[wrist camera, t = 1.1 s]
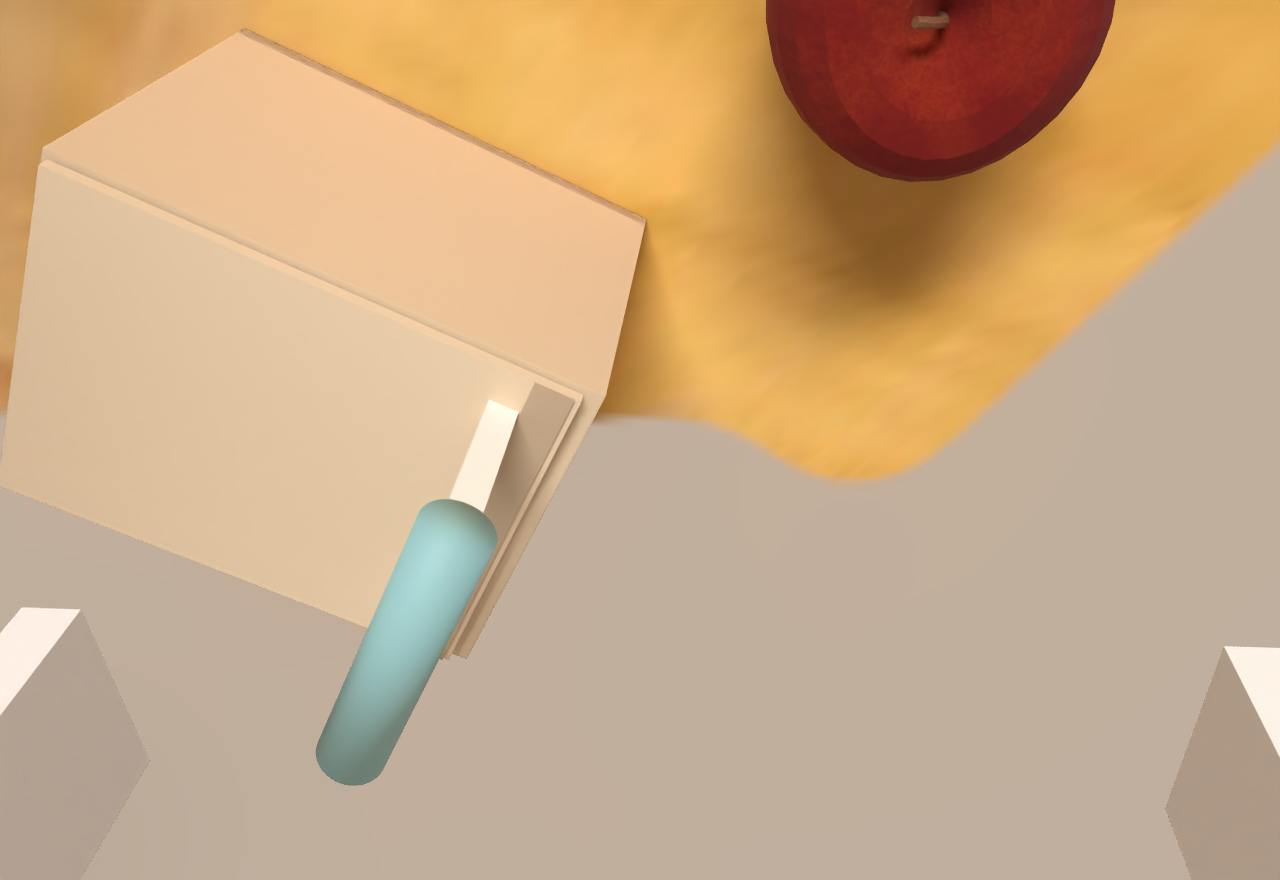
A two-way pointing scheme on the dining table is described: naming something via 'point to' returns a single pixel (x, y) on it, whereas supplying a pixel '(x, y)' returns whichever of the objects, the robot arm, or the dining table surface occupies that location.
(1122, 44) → the dining table surface
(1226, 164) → the dining table surface
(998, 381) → the dining table surface
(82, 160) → the carton
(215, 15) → the dining table surface
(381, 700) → the flap
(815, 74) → the apple
